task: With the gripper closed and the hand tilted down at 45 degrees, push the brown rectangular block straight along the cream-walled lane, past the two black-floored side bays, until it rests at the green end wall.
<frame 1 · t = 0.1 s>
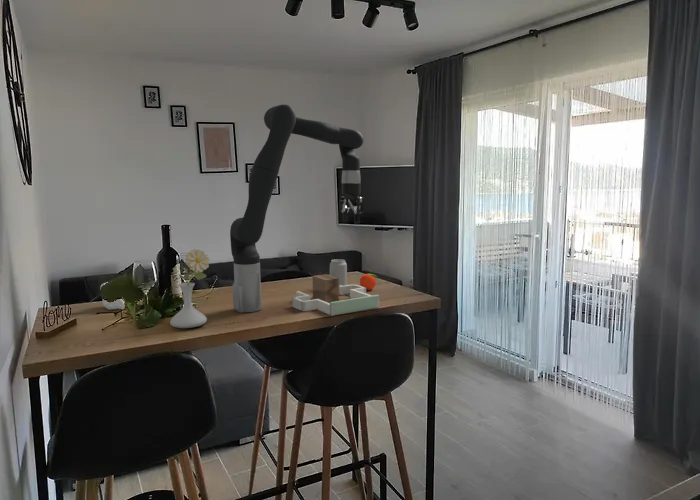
hand: (351, 222, 203), 29 cm above the table, tool pointing down, fingers open, 8 cm apart
brown rectangular block: (325, 299, 197), on the table
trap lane: (336, 303, 190), on the table
can: (338, 287, 220), on the table
flower in vase: (191, 326, 163), on the table
clementine: (369, 290, 214), on the table
duck figurine: (113, 309, 185), on the table
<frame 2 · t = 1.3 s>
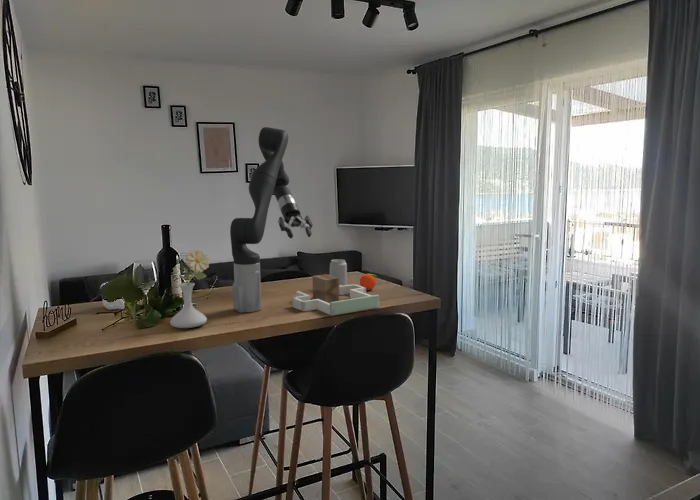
hand: (300, 236, 211), 23 cm above the table, tool tilted 45°, fingers open, 8 cm apart
nothing on the table moved.
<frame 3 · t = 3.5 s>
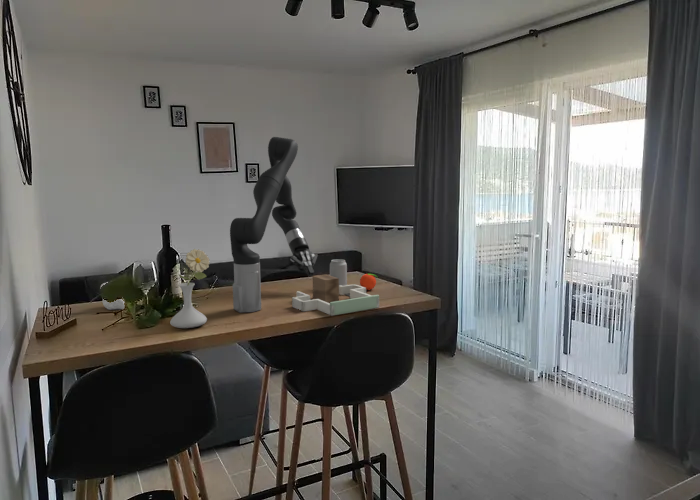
hand: (311, 274, 206), 8 cm above the table, tool tilted 45°, fingers closed
nothing on the table moved.
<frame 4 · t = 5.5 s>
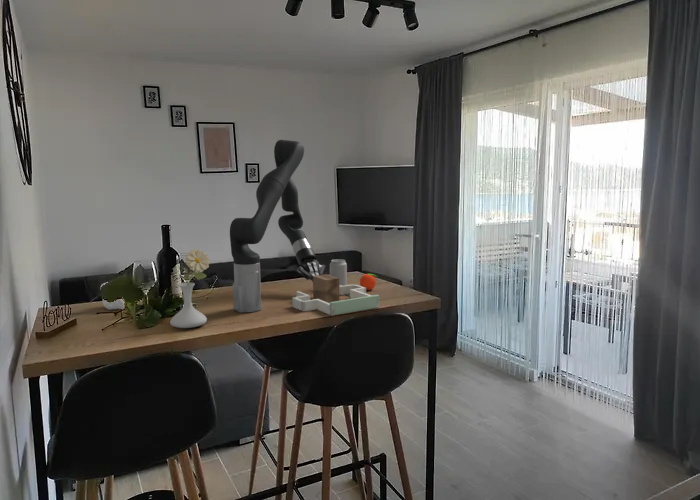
hand: (318, 286, 201), 4 cm above the table, tool tilted 45°, fingers closed
brown rectangular block: (326, 299, 197), on the table, touching gripper
everything else where it was.
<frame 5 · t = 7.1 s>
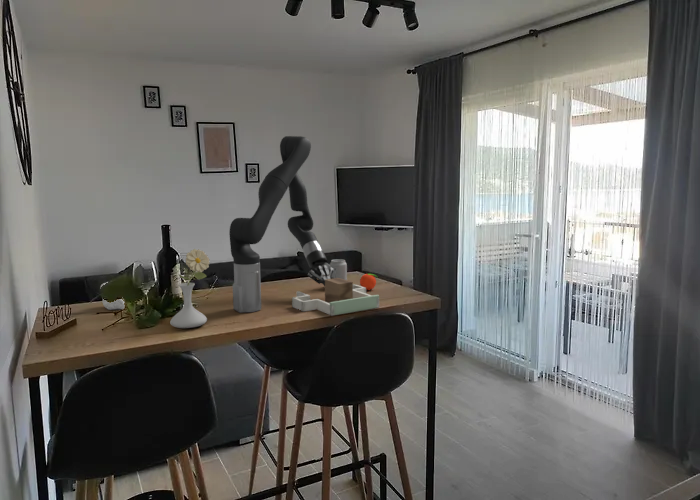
hand: (330, 290, 194), 4 cm above the table, tool tilted 45°, fingers closed
brown rectangular block: (338, 304, 190), on the table, touching gripper
everything else where it was.
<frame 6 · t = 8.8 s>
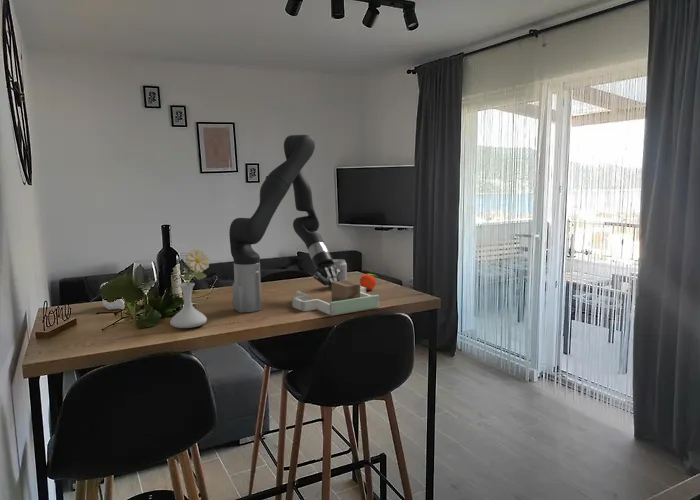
hand: (337, 292, 190), 4 cm above the table, tool tilted 45°, fingers closed
brown rectangular block: (345, 307, 186), on the table, touching gripper
everything else where it was.
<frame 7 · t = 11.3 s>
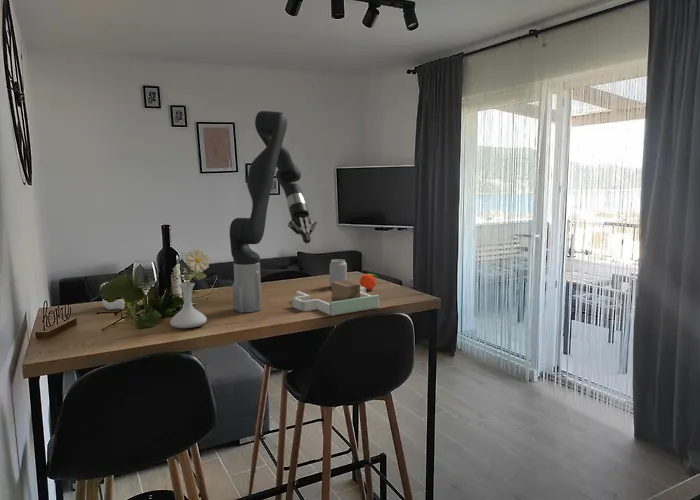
hand: (307, 242, 201), 22 cm above the table, tool tilted 40°, fingers closed
brown rectangular block: (345, 307, 186), on the table
everything else where it was.
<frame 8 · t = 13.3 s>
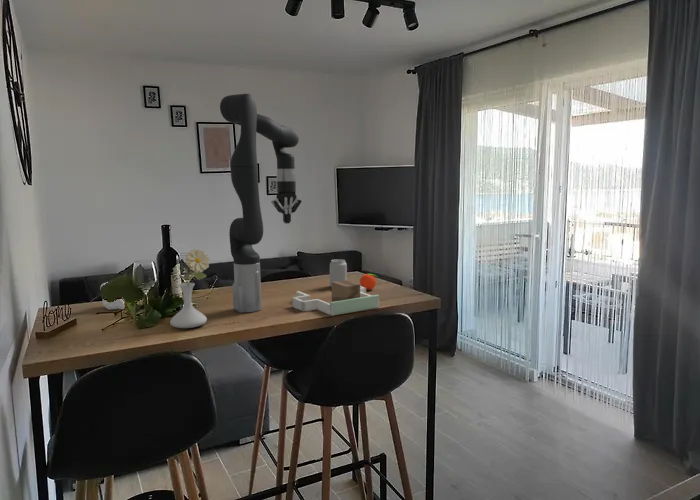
hand: (287, 223, 205), 29 cm above the table, tool pointing down, fingers closed
nothing on the table moved.
at the end: brown rectangular block inside the target area (0.9 cm from its centre), on the table; brown rectangular block tilted 0°; the gripper is holding nothing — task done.
